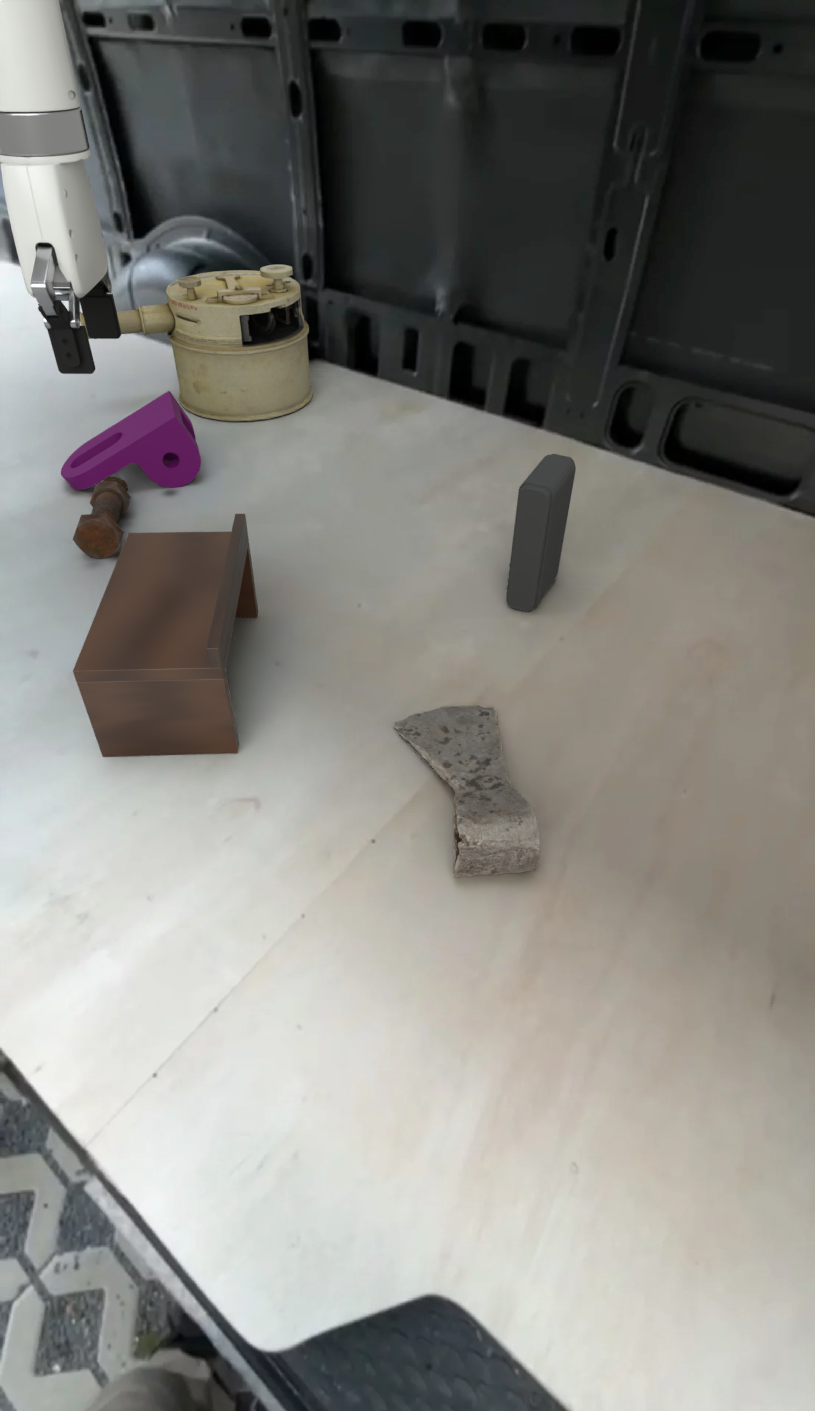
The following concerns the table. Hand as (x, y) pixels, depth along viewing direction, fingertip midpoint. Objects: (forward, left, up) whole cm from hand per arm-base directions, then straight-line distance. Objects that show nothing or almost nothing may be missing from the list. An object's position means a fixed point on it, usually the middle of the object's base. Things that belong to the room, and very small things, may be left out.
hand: (92, 354), depth 76 cm
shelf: (+8, -19, -25) cm, 32 cm away
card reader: (+45, -5, -25) cm, 52 cm away
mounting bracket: (-6, +25, -25) cm, 36 cm away
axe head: (+34, -35, -25) cm, 55 cm away
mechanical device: (+1, +53, -25) cm, 59 cm away
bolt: (-6, +11, -25) cm, 28 cm away
